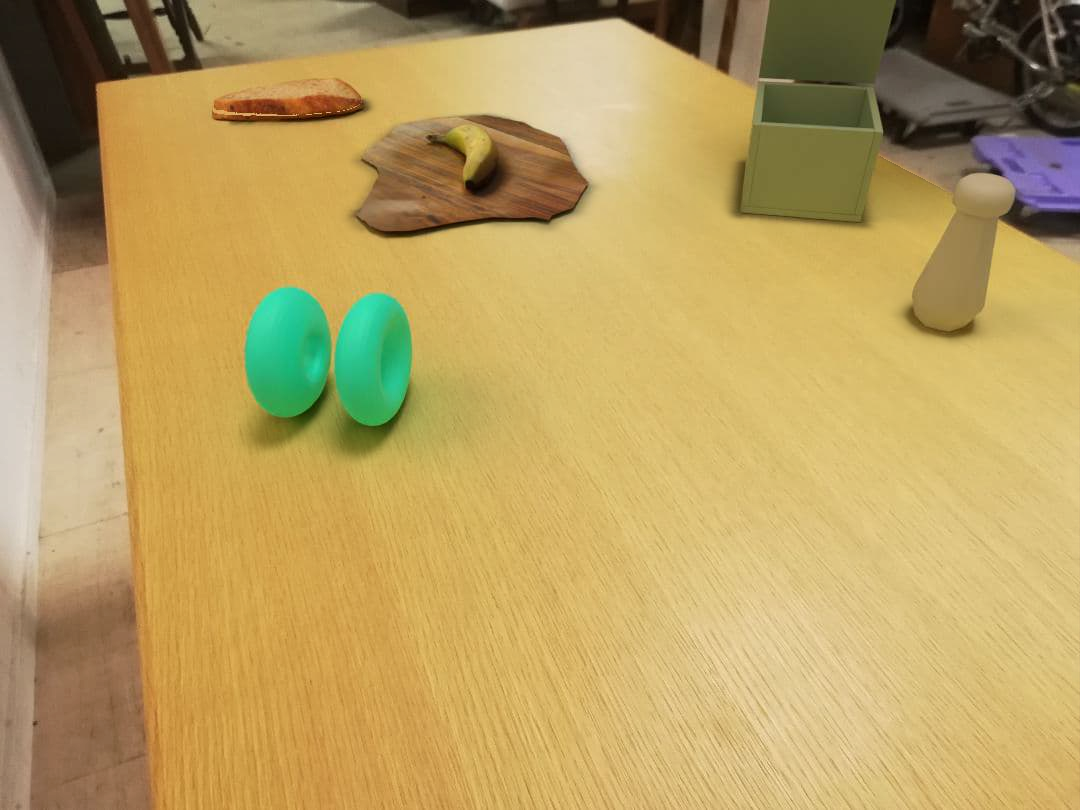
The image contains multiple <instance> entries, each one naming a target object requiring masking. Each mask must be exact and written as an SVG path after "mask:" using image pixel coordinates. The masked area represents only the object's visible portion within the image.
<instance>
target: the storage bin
mask: <svg viewBox="0 0 1080 810" xmlns="http://www.w3.org/2000/svg"><path fill="white" fill-rule="evenodd" d="M880 115H881V114H880V111H879V106H878V101H877V96H876V92H875V87H874V86H865V85H863V86H862V85H846V84H845V85H844V84H843V85H842V84H825V83H824V84H822V83H802V82H783V81H782V82H781V81H765V80H764V81H763V80H762V81H761V80H758V81H757V85H756V93H755V100H754V106H753V113H752V118H751V127H750V134H749V140H748V148H747V155H746V161H745V170H744V178H743V184H742V185H743V186H742V192H741V194H742V195H741V201H740V211H739V213H744V214H757V215H769V216H779V217H791V218H802V219H803V218H804V219H817V220H826V221H827V220H829V221H840V222H852V223H853V222H854V223H861V222H862V217H863V213H864V210H865V207H866V203H867V202H866V201H867V198H868V195H869V191H870V186H871V182H872V179H873V175H874V171H875V167H876V164H877V159H878V155H879V151H880V147H881V144H882V140H883V136H884V129H883V128H884V127H883V124H882V120H881V116H880Z"/></svg>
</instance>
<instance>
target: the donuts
mask: <svg viewBox="0 0 1080 810" xmlns="http://www.w3.org/2000/svg"><path fill="white" fill-rule="evenodd" d="M332 349H333V348H332V334H331V329H330V324H329V321H328V318H327V315H326V313H325V311H324V309H323V308H322V305H321V304H320V303H319V301H318V300H317V299H316V297H314V296H313V295H312V294H310V293H309V292H308V291H306V290H304V289H302V288H299V287H296V286H282V287H279V288H276V289H274V290H272V291H270V292H269V293H268V294H266V295H265V296H264V297H263V298H262V300H261V301H260V302H259V303H258V305H257V306H256V308H255V310H254V312H253V313H252V316H251V318H250V321H249V324H248V328H247V332H246V336H245V341H244V370H245V375H246V376H245V377H246V380H247V386H248V389H249V390H250V392H251V395H252V396H253V398H254V400H255V401H256V403H257V404H258V405H259V407H260V408H262V410H264V411H265V412H266V413H268V414H269V415H272V416H275V417H278V418H283V419H284V418H287V419H288V418H293V417H296V416H299V415H301V414H303V413H304V412H306V411H307V410H309V409H311V407H312V406H313V405H314V403H316V401H317V400H318V399H319V397H320V396H321V394H322V392H323V390H324V388H325V386H326V383H327V380H328V377H329V373H330V369H331V363H332V354H333V353H332ZM334 349H335V350H334V358H333V359H334V363H333V365H334V368H333V370H334V380H335V386H336V391H337V395H338V397H339V400H340V402H341V404H342V406H343V407H344V409H345V411H346V412H347V414H348V415H349V416H350V417H351V418H352V419H353V420H355V421H356V422H358V423H359V424H361V425H365V426H367V427H368V426H369V427H375V426H376V427H377V426H381V425H384V424H386V423H388V422H389V421H390V420H392V419H393V418H394V417H395V415H397V413H398V411H399V410H400V408H401V406H402V404H403V402H404V400H405V397H406V394H407V391H408V388H409V383H410V379H411V372H412V361H413V341H412V331H411V326H410V322H409V318H408V315H407V313H406V311H405V308H404V307H403V306H402V304H401V303H400V302H399V301H398V300H397V299H396V298H395V297H393V296H391V295H390V294H387V293H384V292H373V293H372V292H371V293H369V294H366V295H364V296H362V297H361V298H359V299H357V300H356V302H354V303H353V305H352V306H351V307H350V308H349V310H347V312H346V314H345V316H344V319H343V320H342V323H341V325H340V328H339V331H338V334H337V338H336V343H335V348H334Z"/></svg>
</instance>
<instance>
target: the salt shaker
mask: <svg viewBox="0 0 1080 810" xmlns="http://www.w3.org/2000/svg"><path fill="white" fill-rule="evenodd" d="M1016 188H1017V187H1015V186H1014V184H1013V183H1012V182H1011V181H1010V180H1009V179H1008V178H1005V177H1003V176H1001V175H998V174H993V173H987V172H976V173H969V174H967V175H966V176H964V177H962V178H961V179H959V181H958V183H957V185H956V186H955V189H954V192H953V196H952V200H951V201H952V205H953V206H954V207H955V209H956V210H955V212H954V214H953V215H952V217H951V219H950V221H949V222H948V224H947V227H946V228H945V230H944V232H943V234H942V236H941V237H940V239H939V241H938V243H937V245H936V247H935V248H934V251H933V252H932V253H931V255H930V257H929V259H928V261H927V262H926V264H925V266H924V267H923V269H922V271H921V272H920V275H919V276H918V278H917V279H916V281H915V283H914V286H913V289H912V294H911V298H912V306H913V314H914V317H915V318H916V319H917V320H918V321H920V323H921V324H923V325H924V327H926V328H929V329H933V330H938V331H942V332H946V333H950V332H952V331H955V330H958V329H963V328H964V327H967V325H968V324H970V322H971V321H973V319H975V318H976V317H977V316H978V315H979V314H980V313H981V312H982V311H983V309H984V308H985V305H986V298H987V292H988V285H989V280H990V274H991V267H992V260H993V255H994V250H995V249H994V248H995V242H996V235H997V231H998V224H999V219H1000V218H999V217H1002V216H1003V215H1006V214H1008V212H1009V211H1010V210H1011V208H1012V206H1013V204H1014V202H1015V195H1016Z"/></svg>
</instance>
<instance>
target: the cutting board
mask: <svg viewBox="0 0 1080 810" xmlns="http://www.w3.org/2000/svg"><path fill="white" fill-rule="evenodd" d="M360 158H361V159H363V160H364V161H365V162H367V163H369V164H371V165H372V166H374V167H375V168H376V169H377V171H378V173H379V174H378V176H377V177H376V179H375V181H374V184H373V185H372V188H371V191H370V192H369V194H368V196H367V197H366V198H365V200H364V201H363V203H362V205H361V206H360V208H359V209H358V210H357V212H356V216H357V217H358V218H359V219H360V220H362V221H364V222H365V223H366V224H367V225H368V226H369V227H372V228H374V229H376V230H380V231H382V232H409V231H416V230H421V229H426V228H432V227H436V226H443V225H448V224H454V223H460V222H466V221H473V220H481V219H487V218H507V219H527V218H536V219H537V218H538V219H543V220H547V221H549V220H550V219H551V218H552V216H554V215H557V214H559V213H562V212H565V211H568V210H570V209H573V208H574V207H575V206H576V204H577V202H578V200H579V199H580V197H581V195H582V194H583V192H584V190H585V188H586V187H587V186H588V185H589V183H590V181H587V179H586V178H585V177H584V176H583V175H582V173H581V172H580V171H579V169H578V168H577V166H576V164H575V163H574V161H573V160H572V156H571V155H570V153H569V149H568V147H567V145H566V144H565V142H564V141H563V140H562V139H561V137H559V136H558V135H554V134H553V133H549V132H546V131H544V130H542V129H539V128H536V127H533V126H532V125H530V124H528V123H527V122H525V121H521V120H520V121H519V120H515V119H510V118H503V117H500V116H492V115H486V114H481V115H468V116H467V115H466V116H453V117H445V118H444V117H442V118H432V119H424V120H417V121H409V122H403V123H399V124H398V125H397V126H395V127H394V128H393V129H392V130H391V131H390V132H389V133H387V134H386V135H385V136H384V137H383V138H381V139H380V140H379V141H378V142H376V143H375V144H374V145H373V146H371V147H370V148H368V149H366V150H365V151H364V153H363V154H362V155H361V156H360Z"/></svg>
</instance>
